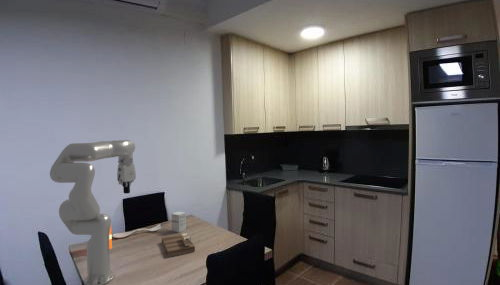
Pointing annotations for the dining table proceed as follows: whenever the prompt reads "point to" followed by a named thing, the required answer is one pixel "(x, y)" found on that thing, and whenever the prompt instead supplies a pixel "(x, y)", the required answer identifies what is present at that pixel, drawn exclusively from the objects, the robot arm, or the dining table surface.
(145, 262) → the dining table surface
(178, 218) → the supplement box
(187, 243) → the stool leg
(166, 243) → the wooden tray
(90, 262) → the robot arm
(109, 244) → the orange juice
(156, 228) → the cream wavy strip
